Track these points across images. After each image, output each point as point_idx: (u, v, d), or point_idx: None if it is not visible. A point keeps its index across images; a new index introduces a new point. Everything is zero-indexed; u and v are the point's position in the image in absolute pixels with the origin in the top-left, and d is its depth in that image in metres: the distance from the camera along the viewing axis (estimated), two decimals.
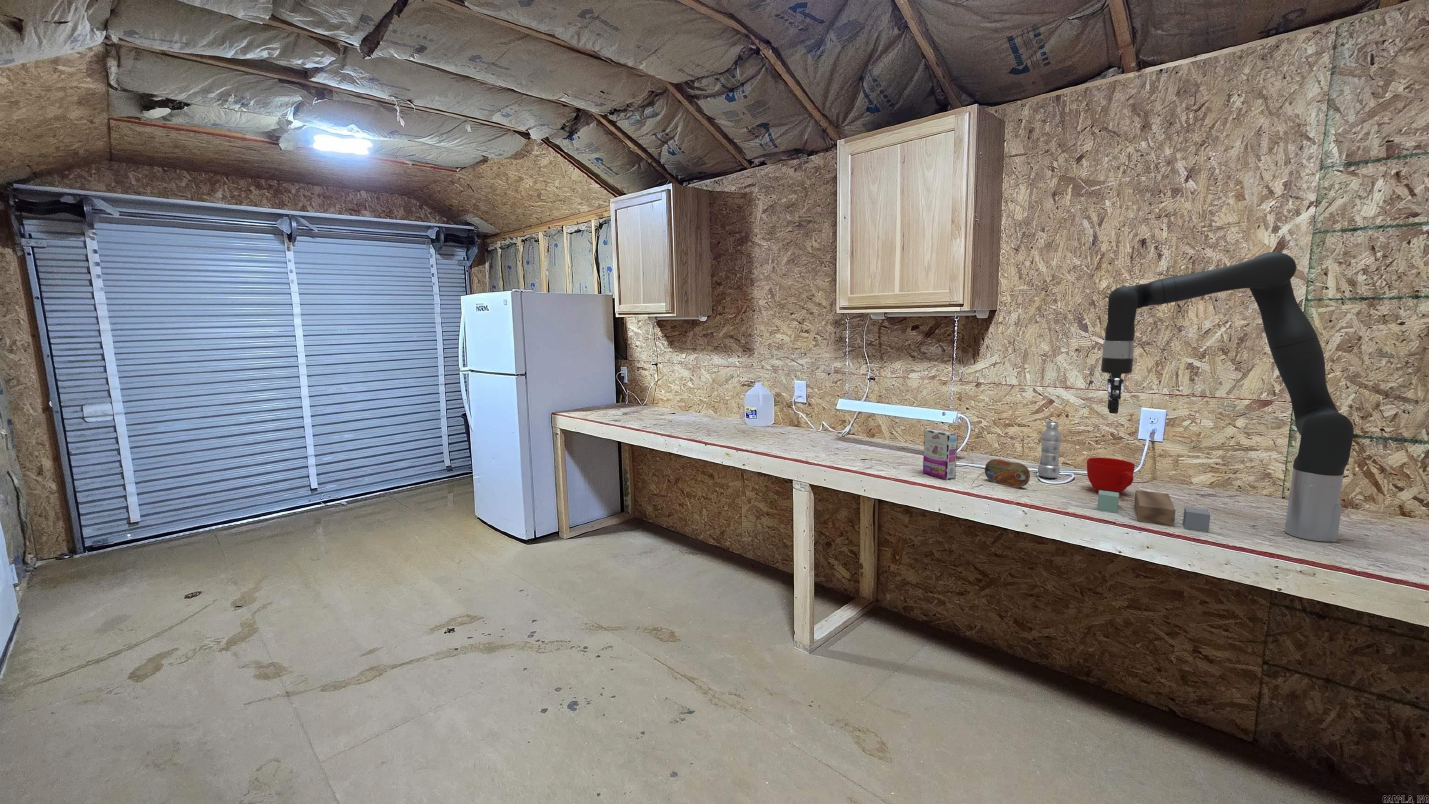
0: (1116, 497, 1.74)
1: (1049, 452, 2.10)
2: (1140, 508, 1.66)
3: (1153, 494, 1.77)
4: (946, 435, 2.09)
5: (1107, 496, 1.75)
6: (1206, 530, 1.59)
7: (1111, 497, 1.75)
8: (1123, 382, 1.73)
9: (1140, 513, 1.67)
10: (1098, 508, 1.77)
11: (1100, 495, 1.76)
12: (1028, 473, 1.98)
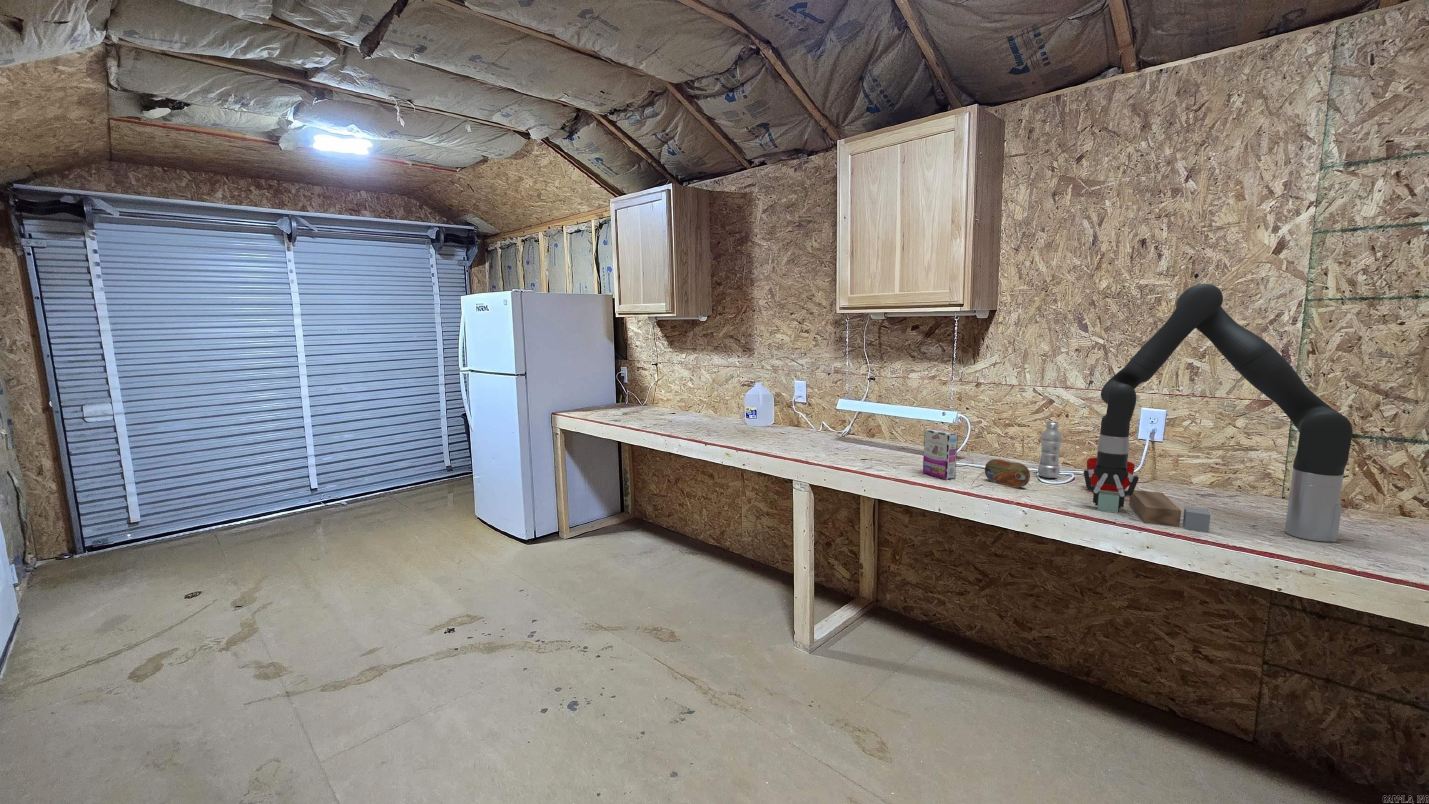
0: (1116, 497, 1.74)
1: (1049, 452, 2.10)
2: (1146, 509, 1.65)
3: (1149, 494, 1.77)
4: (946, 435, 2.09)
5: (1107, 496, 1.75)
6: (1206, 530, 1.59)
7: (1111, 497, 1.75)
8: None
9: (1146, 514, 1.66)
10: (1098, 508, 1.77)
11: (1100, 495, 1.76)
12: (1028, 473, 1.98)
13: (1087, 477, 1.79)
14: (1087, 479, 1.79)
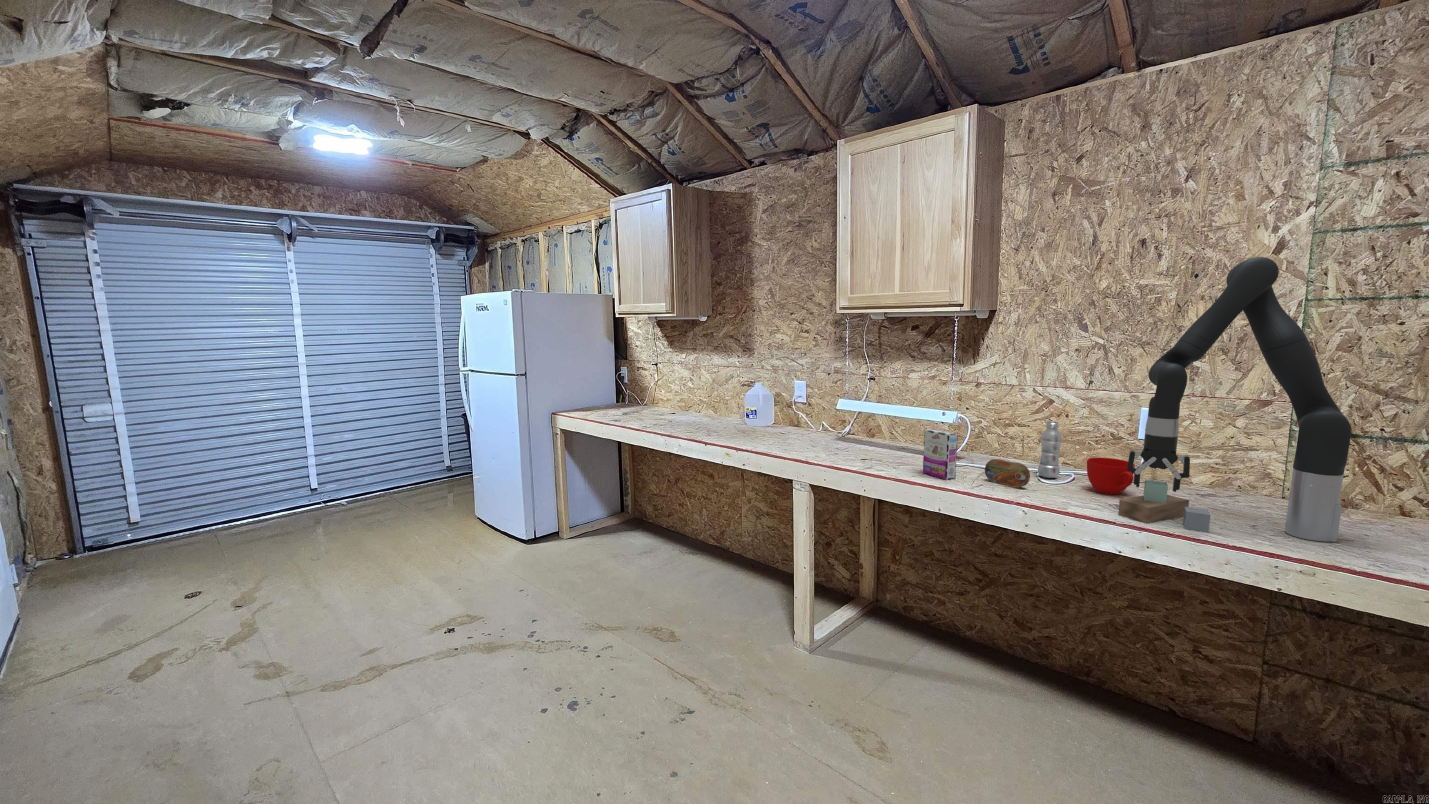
0: (1165, 486, 1.68)
1: (1049, 452, 2.10)
2: (1120, 502, 1.72)
3: (1168, 497, 1.74)
4: (946, 435, 2.09)
5: (1155, 485, 1.69)
6: (1206, 530, 1.59)
7: (1159, 486, 1.69)
8: None
9: (1120, 507, 1.72)
10: (1145, 498, 1.71)
11: (1148, 485, 1.70)
12: (1028, 473, 1.98)
13: (1132, 458, 1.73)
14: (1131, 460, 1.73)
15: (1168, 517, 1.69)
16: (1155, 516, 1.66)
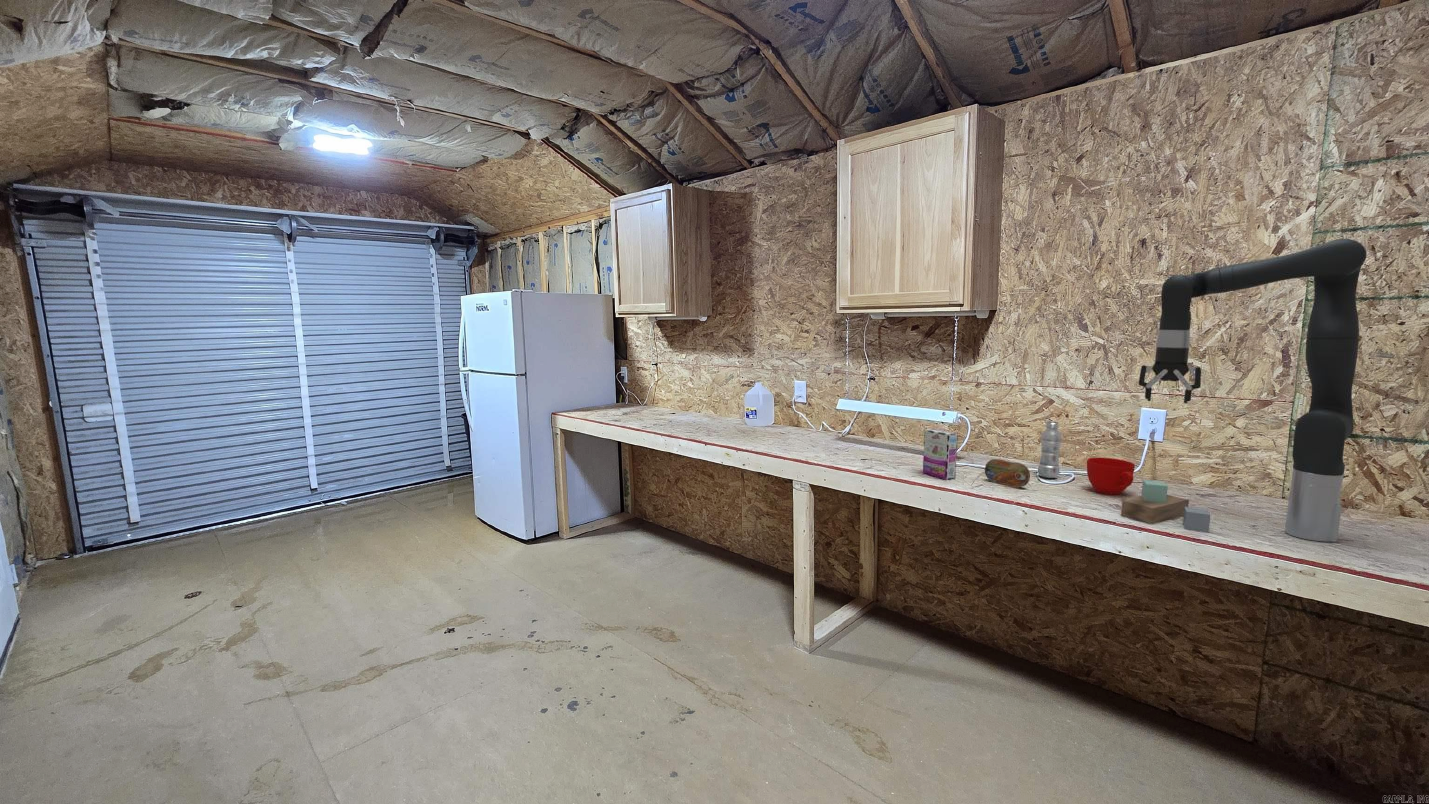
0: (1165, 486, 1.68)
1: (1049, 452, 2.10)
2: (1123, 503, 1.71)
3: (1168, 497, 1.74)
4: (946, 435, 2.09)
5: (1155, 486, 1.69)
6: (1206, 530, 1.59)
7: (1159, 487, 1.69)
8: None
9: (1123, 508, 1.71)
10: (1145, 498, 1.71)
11: (1148, 485, 1.70)
12: (1028, 473, 1.98)
13: (1143, 372, 1.75)
14: (1143, 374, 1.76)
15: (1170, 517, 1.69)
16: (1158, 516, 1.66)
